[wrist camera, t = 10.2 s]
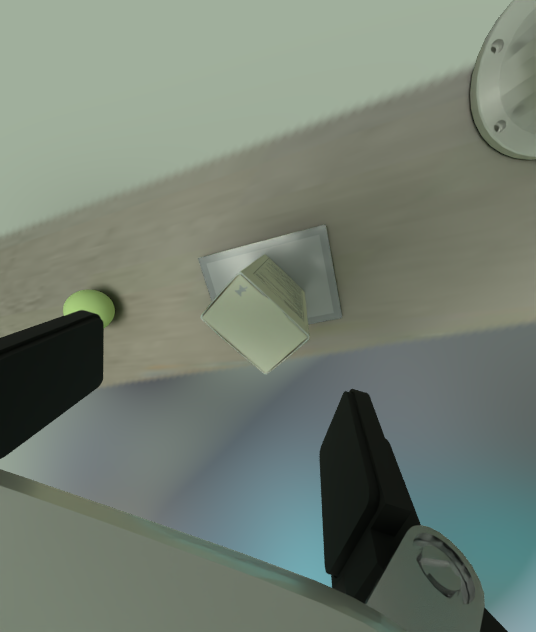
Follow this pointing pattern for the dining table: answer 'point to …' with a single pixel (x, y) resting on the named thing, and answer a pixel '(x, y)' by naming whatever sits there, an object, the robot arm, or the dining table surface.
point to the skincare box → (260, 314)
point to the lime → (91, 304)
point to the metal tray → (285, 268)
